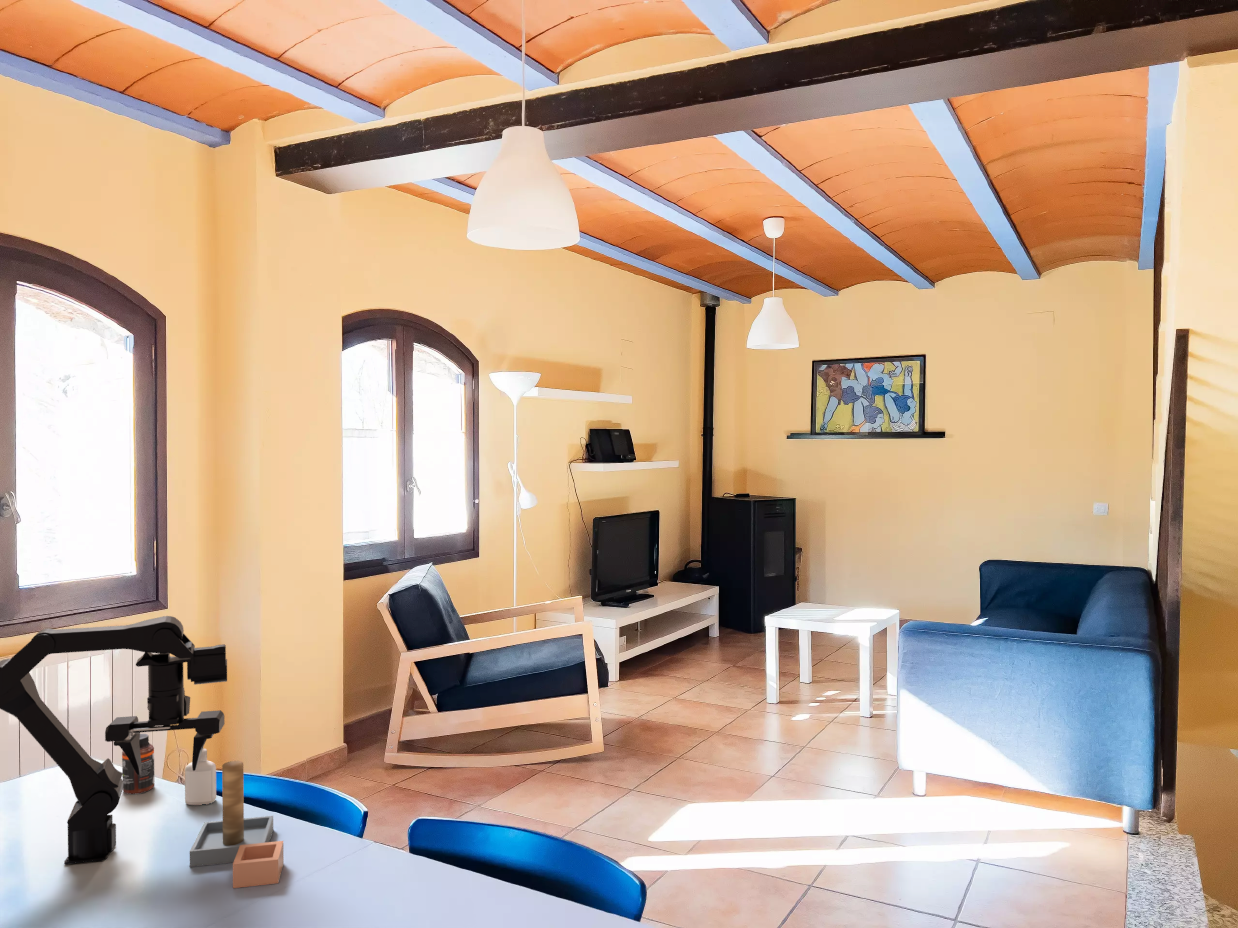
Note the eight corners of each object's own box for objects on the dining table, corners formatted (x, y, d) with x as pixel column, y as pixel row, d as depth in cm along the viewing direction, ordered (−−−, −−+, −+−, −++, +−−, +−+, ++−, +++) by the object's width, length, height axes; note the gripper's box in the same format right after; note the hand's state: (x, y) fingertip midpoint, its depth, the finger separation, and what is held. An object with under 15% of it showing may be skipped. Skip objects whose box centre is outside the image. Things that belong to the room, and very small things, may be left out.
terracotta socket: (232, 888, 145) (232, 864, 144) (240, 867, 151) (240, 844, 151) (278, 882, 146) (278, 859, 146) (283, 863, 153) (283, 840, 153)
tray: (189, 866, 152) (189, 851, 152) (204, 836, 163) (204, 822, 163) (264, 858, 155) (264, 843, 155) (273, 829, 166) (273, 815, 166)
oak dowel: (224, 846, 156) (224, 769, 156) (221, 839, 159) (220, 763, 159) (245, 842, 158) (245, 765, 158) (241, 834, 161) (241, 759, 161)
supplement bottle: (160, 784, 188) (160, 732, 187) (143, 795, 182) (142, 741, 182) (134, 783, 188) (133, 731, 188) (116, 794, 182) (115, 740, 182)
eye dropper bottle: (201, 808, 176) (200, 749, 175) (181, 803, 178) (181, 744, 178) (219, 800, 180) (219, 742, 179) (200, 795, 182) (199, 738, 182)
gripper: (229, 672, 170) (230, 752, 171) (122, 678, 166) (123, 760, 166) (218, 688, 159) (219, 773, 160) (103, 695, 155) (104, 783, 155)
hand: (167, 771), depth 161 cm, fingers open, 9 cm apart
